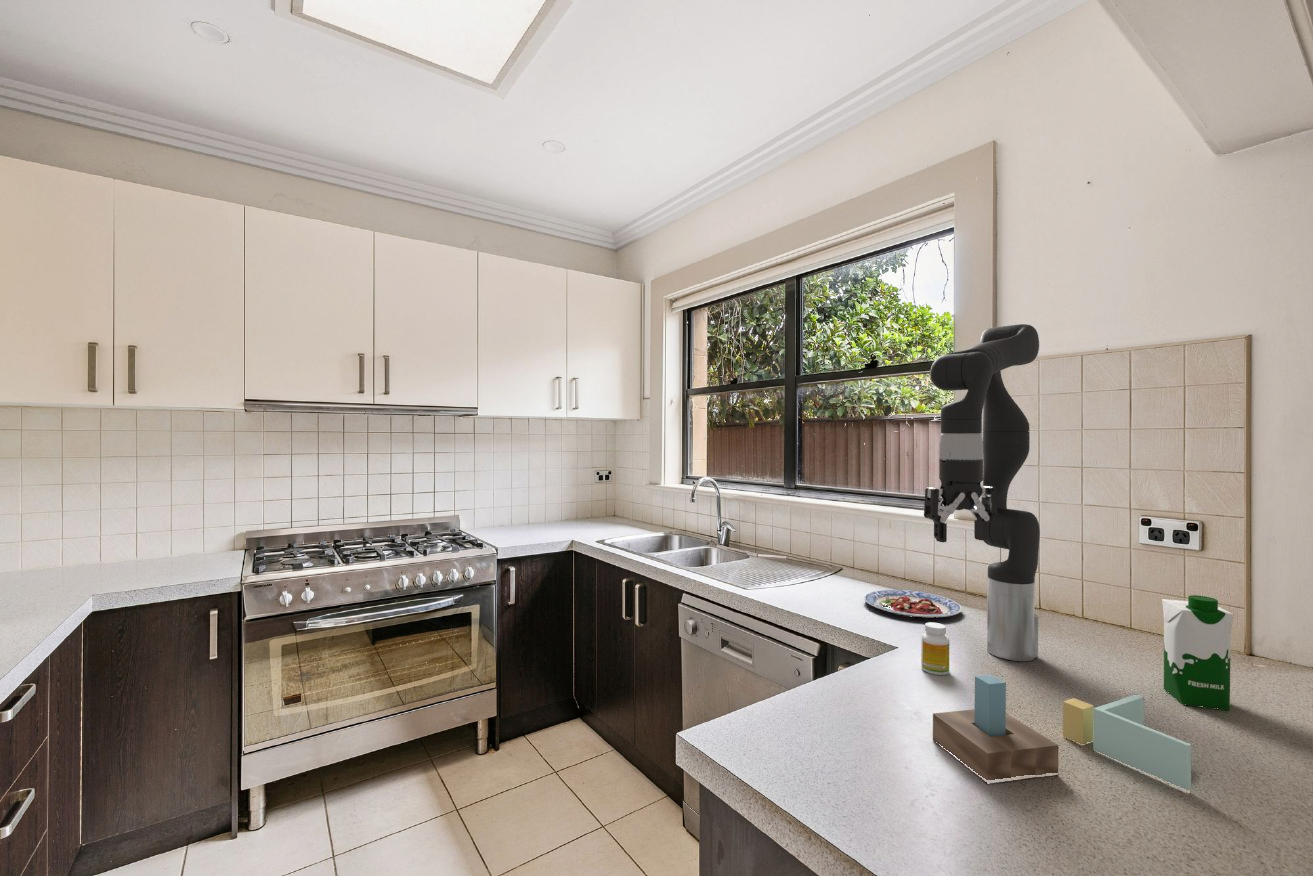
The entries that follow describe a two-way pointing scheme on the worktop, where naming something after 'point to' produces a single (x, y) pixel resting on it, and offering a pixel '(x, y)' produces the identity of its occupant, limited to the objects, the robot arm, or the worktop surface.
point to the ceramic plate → (913, 603)
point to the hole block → (995, 746)
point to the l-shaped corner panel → (1140, 742)
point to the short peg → (1078, 720)
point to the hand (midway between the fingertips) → (960, 540)
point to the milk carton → (1197, 651)
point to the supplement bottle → (935, 649)
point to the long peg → (990, 705)
